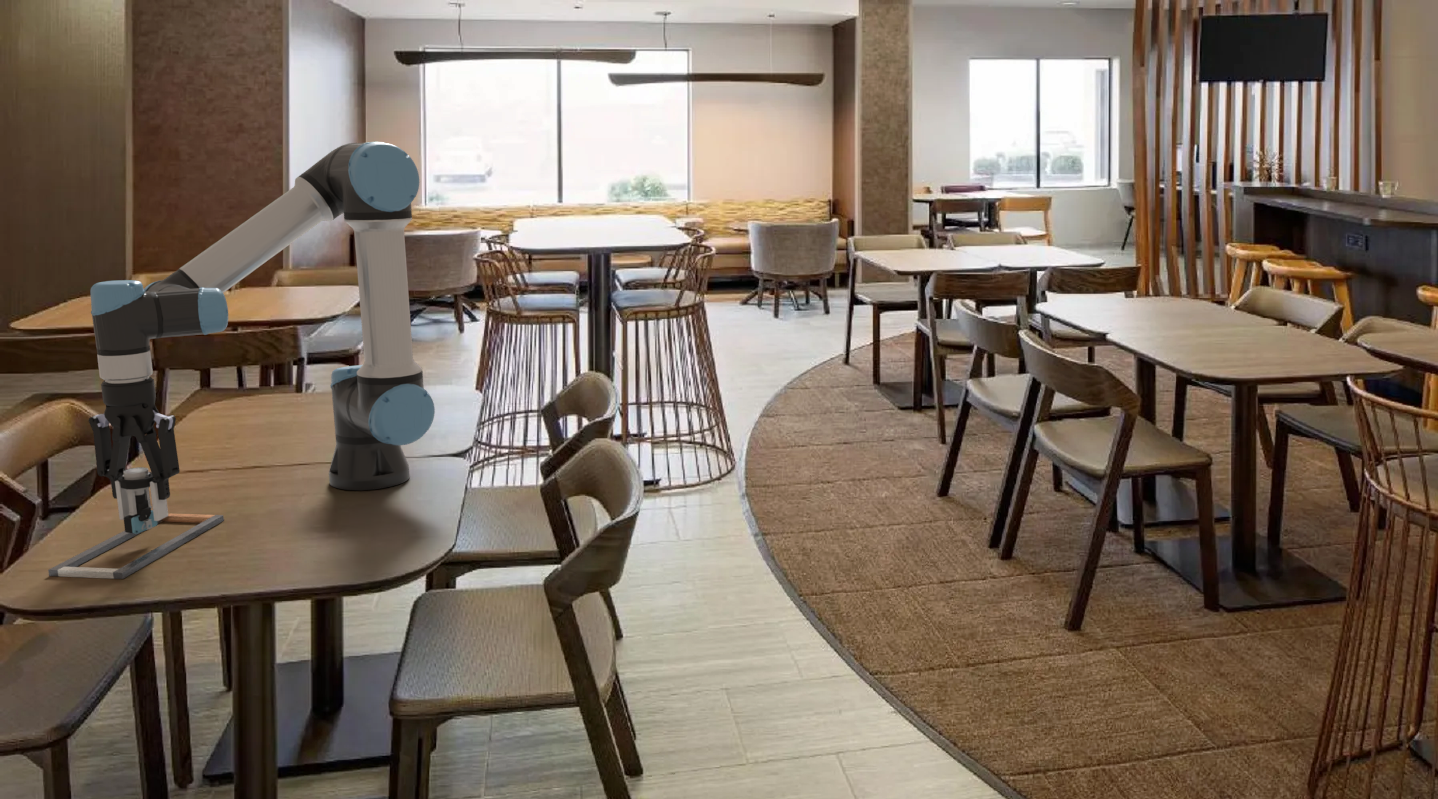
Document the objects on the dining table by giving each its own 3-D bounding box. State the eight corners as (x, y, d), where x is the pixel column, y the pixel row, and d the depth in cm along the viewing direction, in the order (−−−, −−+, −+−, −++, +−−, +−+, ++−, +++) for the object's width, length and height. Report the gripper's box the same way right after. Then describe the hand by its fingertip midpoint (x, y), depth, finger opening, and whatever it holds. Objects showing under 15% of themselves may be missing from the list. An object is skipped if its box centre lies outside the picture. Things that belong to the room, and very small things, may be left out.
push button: (148, 520, 187) (142, 462, 185) (174, 523, 185) (168, 465, 183) (116, 532, 181) (109, 473, 179) (142, 536, 179) (135, 476, 177)
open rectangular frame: (223, 520, 195) (223, 515, 195) (122, 578, 168) (122, 572, 168) (159, 518, 197) (159, 513, 197) (49, 575, 170) (48, 569, 169)
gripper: (194, 374, 180) (209, 512, 185) (89, 373, 182) (106, 509, 187) (167, 384, 173) (183, 526, 178) (57, 382, 175) (76, 523, 180)
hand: (144, 517), depth 183 cm, fingers closed on push button, 5 cm apart
